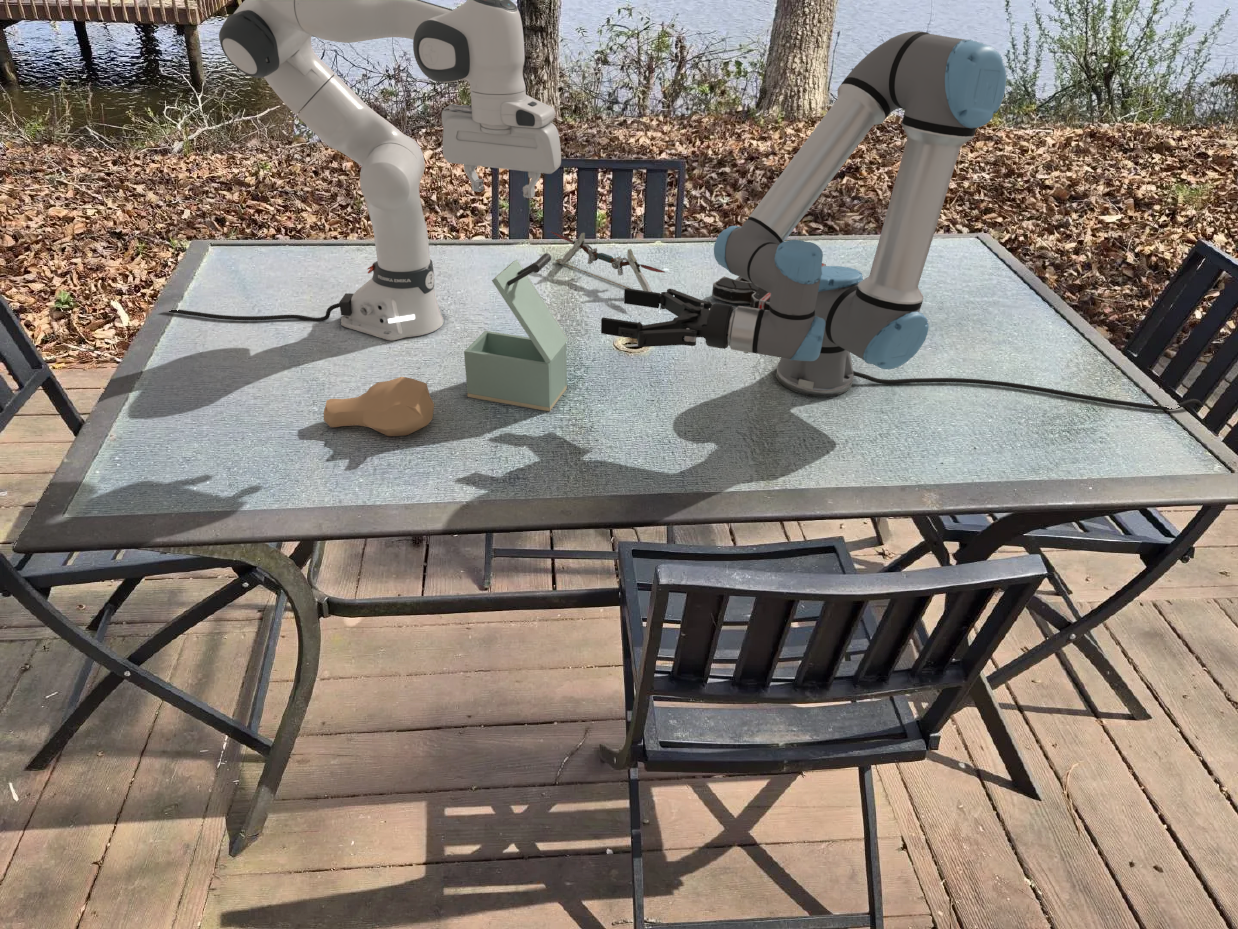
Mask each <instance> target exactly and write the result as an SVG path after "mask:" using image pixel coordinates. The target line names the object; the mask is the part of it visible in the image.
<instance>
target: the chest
mask: <svg viewBox="0 0 1238 929" xmlns="http://www.w3.org/2000/svg"><path fill="white" fill-rule="evenodd" d="M567 347H568V346H567V342H566V343H565V344H564V346H563V347H562V348H561V349H560V351H559V352H558V353H557V354H556V355H555V357H554V358H553V359H552V360H551V361H550V362H548V363H546V362H545V360H544V359H543V357H542V356H541V354H540V353H539V351H538V350H537V348H536V347H535V345H534V344H533V342H532V341H531V339H530V338H529V336H522V335H516V334H510V333H504V332H497V331H492V330H491V331H490V330H484V331H483V332H482V333H481V334H480V335H478V337H477V338H476V339H475V340H474V341H472V343H471V344H470V345H468V346H467V348H466V349H465V350H463V355H464V366H465V367H464V368H465V369H464V370H465V379H466V391H467V392H466V393H467V395H466V396H467V397H468V398H472V399H477V400H483V401H489V402H493V403H500V404H506V405H511V406H516V407H522V408H528V409H533V410H540V411H544V412H545V411H546V412H551V411H552V410H553V408H554V407H555V405H556V404H557V402H559V400H560V399H561V397H562V396H563V395H564V393H565V392H566V390H567V389H568V368H567V367H568V359H567V358H568V356H567V354H568V352H567V350H568V348H567Z"/></svg>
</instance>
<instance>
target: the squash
mask: <svg viewBox="0 0 1238 929" xmlns="http://www.w3.org/2000/svg"><path fill="white" fill-rule="evenodd" d="M434 412H435V402H434V401H433V399H432V397H431V394H430V391H429V387H428V384H427V382H424V381H422V380H421V381H420V380H418V379H415V378H412V377H406V376H399V377H396V378H393V379H390V380H385V381H384V380H383V381H379V382H375V384H373V385H372V386H370V387H369V388H368V390H366V392H364V393H363V394H360V395H359V396H357V397H349V398H347V397H346V398H330V399H326V401H325V406H324V410H323V421H324V423H326V425H328V426H329V428H338V427H349V426H361V427H366V428H371V430H372V429H373V430H374V431H376V432H377V433H380V434H382V435H385V436H387V437H400V436H401V437H402V436H403V437H404V436H409V435H412V434H413V433H415V432H417V431H419V430H421V429H423V428H425V427H427V426H428V425H429V424H430V423H431V422H432V420H433V418H434Z"/></svg>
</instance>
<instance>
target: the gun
mask: <svg viewBox="0 0 1238 929" xmlns="http://www.w3.org/2000/svg"><path fill="white" fill-rule="evenodd" d="M823 266H827V264H826V263H823V262H822V267H823ZM770 296H771V293H769V292H767V291H766V290H764V289H762V288H760V287H758V286H756V285H755V284H753V283H751V282H749V281H747V280H745V279H743V278H741V277H739V276H737V278H735V279H734V278H731V277H727V276H722V277H720V279H717V281H715V282H713V283H712V291H711V297H713V298H714V299H716V300H719V301H723V302H727V303H730V304H750V305H749V307H751V308H758V309H763V310H769V304H770Z"/></svg>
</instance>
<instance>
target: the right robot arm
mask: <svg viewBox="0 0 1238 929" xmlns="http://www.w3.org/2000/svg"><path fill="white" fill-rule="evenodd" d="M1003 60H1004V59H1003V57H1002V55H1001V53H1000V52H999V51H998V50H997V49H996V48H994V47H993V46H992V45H988V44H986V43H982V42H979V41H976V40H973V39H971V38H969V39H965V38H960V37H959V38H958V37H952V36H946V35H940V34H934V33H930V32H926V31H920V30H919V31H917V30H916V31H915V30H914V31H907V32H903V33H900V34H898V35H895V36H893V37H891V38H889V39H887V40H886V41H884V42H883V43H881V44H880V45H878V46H877V47H875V48H874V49H873V50H872V51H870V52H868V54H867V55H866V56H864V57H863V58H862V59H861V60H860V61H859V62H858V63H857V64H856V65H855V66H854V68H853V69H851V71H850V72H849V73H848V75H847V76H846V77H845V78H844V79H843V81H842V82H841V84H840V85H839V86H838V88H837V99H836V100H835V102H834V103H833V104H832V106H830V108H829V109H828V111H827V112H826V113H825V115H824V116H823V118H822V119H821V120H820V122H819V123H818V124H817V125H816V127H815V128H814V130H813V131H812V132H811V133H810V135H809V136H808V138H807V139H806V140H805V141H804V143H803V144H802V146H801V147H800V149H799V150H797V152H796V154H795V155H794V156H793V157H792V159H791V160H790V161H789V163H788V164H787V165H786V167H785V168H784V170H783V171H782V172H781V173H780V175H779V176H778V178H777V179H776V180H775V182H774V183H773V184H772V185H771V187H770V188H769V189H768V191H767V192H766V194H764V196H763V198H761V200H760V202H758V204H757V205H756V207H755V208H754V210H753V211H752V212H751V213H750V215H749V216H748V218H746V220H745V221H744V223H743V224H742V226H740V225H730V226H728V227H727V228H725V229H723V230H722V231H721V232H720V233H719V234H718V235H717V237H716V239H715V242H714V245H713V255H714V259H715V261H716V262H717V264H718V265H719V266H721V267H722V268H724V269H725V270H727V271H728V272H729V273H730V274H732V275H734V276H736V277H741V278H743V279H745V280H747V281H749V282H751V283H753V284H755V285H756V286H758V287H760V288H762V289H764V290H766V291H767V292H769V293H771V296H770V304H769V310H763V309H758V308H751V307H750V306H743V305H738V306H737V307H736V308H735V307H734V306H733V304H726V303H719V302H714V303H713V302H712V301H710V300H704V299H700V298H698V297H695V296H692V295H689V294H687V293H684V292H681V291H679V290H676V289H673V288H667V289H666V291H662V292H655V291H652V292H649V291H644V290H643V289H634V288H630V289H628V288H629V287H628V288H625V287H624V289H623V290H624V291H623V304H625V305H631V306H633V305H634V306H637V307H646V308H651V309H659V310H661V311H662V310H663V311H664V310H666V311H668V312H670V313H671V314H673V315H674V316H675V317H673V319H672V320H668V321H662V322H656V323H655V322H654V323H647V324H642V323H641V322H640V321H637V322H636V321H631V320H630V321H629V320H623V319H617V318H610V317H605V316H603V317H601V319H600V334H602V335H608V336H613V337H620V338H628V339H632V340H633V339H634V340H636V342H637V347H639V348H650V347H651V348H652V347H668V346H669V347H671V346H672V347H673V346H687V347H695V346H697V338H703V339H704V340H705V345H706V346H707V347H710V348H716V349H723V350H726V349H728V347H729V348H730V350H731V351H732V350H733V351H737V352H743V354H749V353H750V354H757V355H761V356H762V355H764V356H769V357H774V358H775V357H776V358H779V361H778V363H777V367H776V374H775V376H776V379H777V381H778V382H779V383H780V384H781V385H782V386H783V387H785V388H786V389H788V390H790V391H793V392H795V393H798V394H801V395H805V396H811V397H823V398H824V397H834V396H838V395H841V394H844V393H846V392H847V391H849V390H851V388H852V386H853V382H854V377H856V378H857V377H858V378H861V379H865V380H866V381H870V382H872V383H876V384H883V385H899V384H900V385H901V384H916V383H917V384H920V383H921V384H923V383H927V384H928V383H957V384H958V383H959V384H961V383H962V384H978V385H987V386H988V385H989V386H996V387H997V386H998V387H1008V388H1016V389H1022V390H1028V391H1033V392H1041V393H1046V394H1052V395H1056V396H1057V395H1058V396H1062V397H1063V396H1064V397H1069V398H1074V399H1081V400H1087V401H1093V402H1099V403H1104V404H1110V405H1116V406H1117V405H1118V406H1124V407H1125V406H1126V407H1132V408H1139V409H1147V410H1157V411H1173V410H1177V409H1181V408H1184V407H1187V406H1188V405H1192V404H1195V406H1197V407H1199V408H1204V405H1203V403H1202V402H1201V401H1200V400H1199V399H1196V398H1190V399H1187V400H1184V401H1182V402H1179V403H1176V404H1177V405H1179V406H1180V407H1178V408H1176V409H1172V408H1171V409H1169V408H1167V407H1160V406H1153V405H1154V404H1149V403H1142V402H1135V401H1129V400H1128V401H1127V400H1120V399H1113V398H1106V397H1100V396H1095V395H1088V394H1082V393H1075V392H1071V391H1066V390H1059V389H1053V388H1048V387H1043V386H1035V385H1028V384H1023V383H1017V382H1008V381H1001V380H1000V381H999V380H991V379H981V378H980V379H979V378H963V377H962V378H961V377H921V378H920V377H918V378H915V377H914V378H913V377H912V378H897V379H884V378H877V377H874V376H871V375H868V374H865V373H862V372H859V371H855V370H854V368H853V367H854V366H853V362H852V361H853V360H852V356H851V354H852V355H854V356H855V357H857V358H859V359H861V360H862V361H864V362H865V363H866V364H868V365H873V366H875V367H877V368H879V369H882V370H893V369H894V370H895V369H897V368H900V367H901V366H903V365H905V364H906V363H907V362H909V361H910V359H912V358H913V357H914V356H915V355H917V353H918V352H919V350H921V348H922V346H923V344H924V343H925V341H926V338H927V336H928V333H929V328H930V326H929V322H928V318H927V317H926V316H925V314H924V313H922V312H921V308H922V304H923V301H924V295H923V293H922V291H921V290H920V288H919V284H920V281H921V279H922V274H923V271H924V268H925V265H926V261H927V258H928V254H929V252H930V248H931V246H932V242H933V238H934V235H935V232H936V229H937V227H938V226H937V225H938V223H939V219H940V215H941V213H942V210H943V206H944V203H945V200H946V197H947V193H948V190H949V186H950V184H951V180H952V176H953V174H954V170H955V167H956V164H957V161H958V157H959V153H960V150H961V148H962V146H963V145H965V144H966V143H967V142H969V141H971V140H973V138H975V134H976V131H977V128H981V127H983V126H985V125H987V124H988V123H989V122H990V121H991V120H992V119H993V117H994V114H996V113H997V112H998V111H999V109H1000V107H1001V104H1002V102H1003V100H1004V96H1005V93H1006V87H1007V71H1006V70H1007V69H1006V65H1005V63H1004V62H1003ZM899 109H901V110H904V113H903V117H902V120H901V124H900V125H901V127H902V129H903V131H904V132H905V134H906V142H905V145H904V148H903V151H902V156H901V159H900V164H899V166H898V169H897V174H896V178H895V181H894V184H893V188H892V192H891V195H890V199H889V203H888V206H887V210H886V212H885V213H886V214H885V216H884V220H883V224H882V228H881V232H880V235H879V239H878V242H877V246H876V249H875V253H874V257H873V261H872V264H871V268H870V271H869V274H868V276H867V277H865V278H864V276H863V273H862V272H861V271H860V270H858V269H856V268H853V267H848V266H841V265H826V266H823V267H822V263H823V256H824V253H823V251H822V248H821V247H820V245H818V244H816V243H814V242H812V241H805V240H804V239H803V240H801V239H790V240H787V239H788V238H789V236H790V235H791V234H792V232H793V231H794V230H795V228H797V226H798V225H799V223H800V222H801V221H802V219H803V218H804V216H806V214H807V213H808V211H809V210H810V209H811V207H812V206H813V205H814V204H815V202H816V201H817V200H818V199H819V197H820V196H821V195H822V193H823V192H824V191H825V189H826V188H827V186H829V184H830V183H831V181H832V180H833V179H834V177H835V176H836V175H837V174H838V173H839V171H840V169H841V168H842V167H843V165H844V164H845V163H846V162H847V161H848V160H849V158H850V157H851V155H852V154H853V153H854V151H855V150H856V149H857V148H858V146H859V145H860V143H861V142H862V141H863V140H864V138H865V137H866V136H867V135H868V133H869V131H870V130H871V129H872V127H874V126H876V125H881V124H883V123H884V122H885V121H886V119H887V118H888V117H889V115H890V114H891V113H893V112H894V111H895V110H899ZM863 278H864V279H863Z"/></svg>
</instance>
